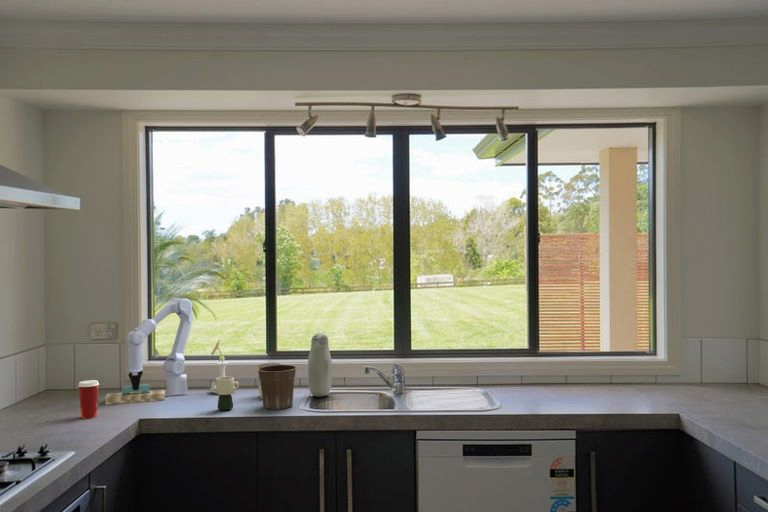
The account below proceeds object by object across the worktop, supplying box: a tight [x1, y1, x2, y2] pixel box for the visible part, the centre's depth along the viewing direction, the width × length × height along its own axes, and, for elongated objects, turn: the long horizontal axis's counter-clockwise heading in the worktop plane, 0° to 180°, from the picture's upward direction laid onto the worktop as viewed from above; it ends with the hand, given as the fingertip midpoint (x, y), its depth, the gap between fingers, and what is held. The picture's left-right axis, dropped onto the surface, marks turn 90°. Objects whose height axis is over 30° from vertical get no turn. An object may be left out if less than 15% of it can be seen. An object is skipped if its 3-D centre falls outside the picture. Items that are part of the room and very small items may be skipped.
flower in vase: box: [209, 339, 236, 394], centre depth 298 cm, size 13×11×25 cm
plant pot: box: [256, 364, 297, 411], centre depth 269 cm, size 16×16×16 cm
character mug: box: [210, 376, 240, 411], centre depth 264 cm, size 11×7×13 cm, turn 102°
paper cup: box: [77, 379, 100, 420], centre depth 255 cm, size 8×8×14 cm
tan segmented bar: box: [104, 389, 166, 406], centre depth 284 cm, size 24×9×3 cm, turn 108°
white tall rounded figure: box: [307, 333, 333, 398], centre depth 287 cm, size 10×10×28 cm
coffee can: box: [258, 362, 282, 399], centre depth 289 cm, size 10×10×14 cm
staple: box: [121, 383, 150, 395], centre depth 284 cm, size 11×3×6 cm, turn 108°
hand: (135, 389), depth 284 cm, fingers closed on staple, 3 cm apart
